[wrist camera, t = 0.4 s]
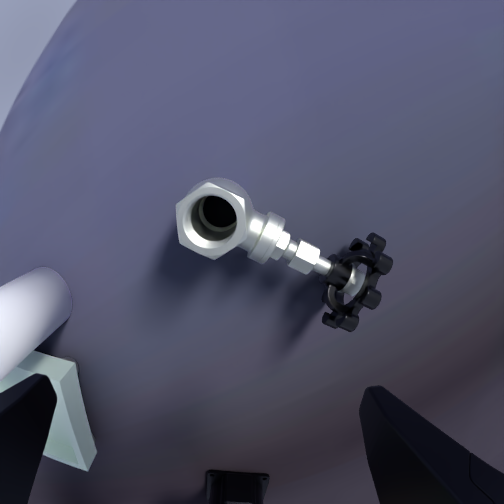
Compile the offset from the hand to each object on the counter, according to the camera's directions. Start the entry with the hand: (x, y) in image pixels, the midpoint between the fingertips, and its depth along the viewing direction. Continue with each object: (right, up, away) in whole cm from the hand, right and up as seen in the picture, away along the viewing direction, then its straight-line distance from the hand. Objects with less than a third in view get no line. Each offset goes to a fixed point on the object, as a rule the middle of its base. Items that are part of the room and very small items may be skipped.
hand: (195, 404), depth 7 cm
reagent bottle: (-16, 0, +15) cm, 22 cm away
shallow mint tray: (-20, -10, +18) cm, 28 cm away
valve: (+3, +5, +15) cm, 16 cm away
